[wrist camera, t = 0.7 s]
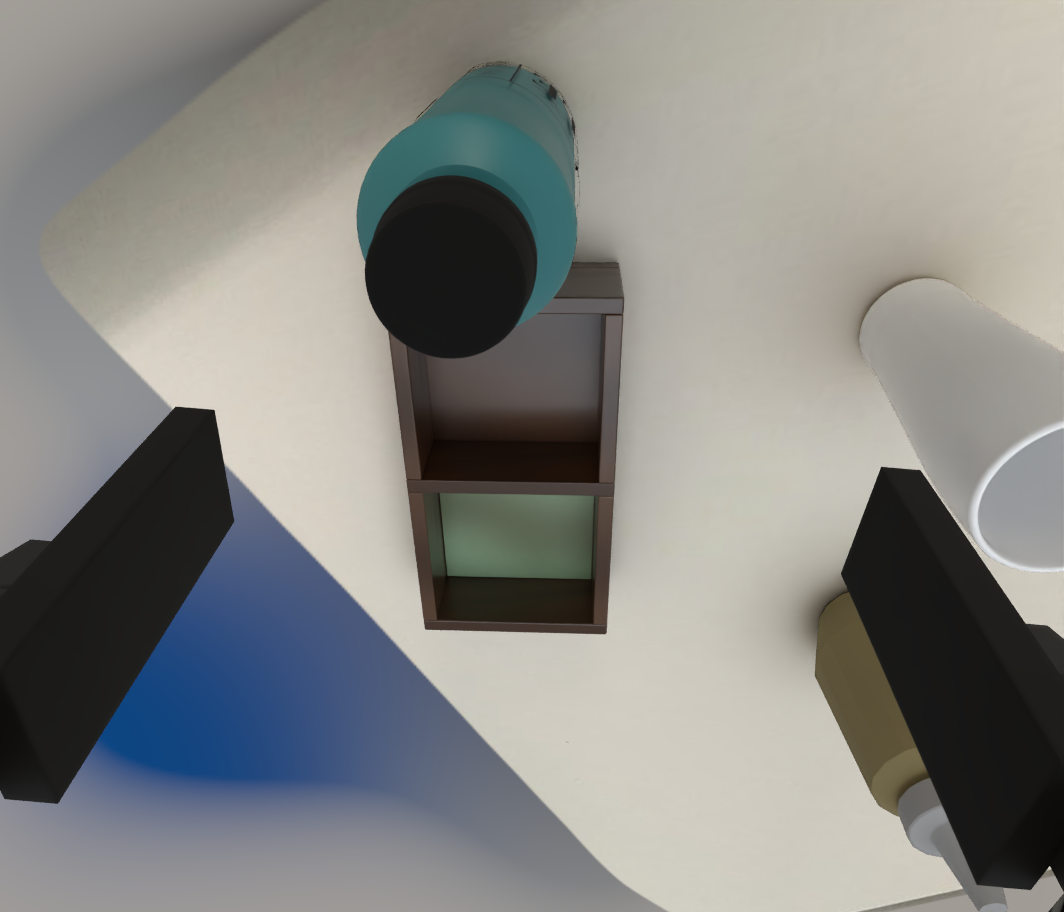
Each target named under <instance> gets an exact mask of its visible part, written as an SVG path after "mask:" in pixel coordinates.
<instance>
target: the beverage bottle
mask: <svg viewBox="0 0 1064 912" xmlns="http://www.w3.org/2000/svg"><path fill="white" fill-rule="evenodd" d="M497 62H498V63H499V62H500V61H496V63H497ZM487 63H489V62H487ZM494 63H495V62H494ZM500 63H504V62H500ZM505 63H506V62H505ZM511 63H512V62H511ZM483 64H484V63H483ZM487 65H488V64H487ZM487 65H486V67H484V68H483V67H482V68H480V69H479V68H478V69H477V70H476V69H475V71H473V72H471V70H472V69H473V68H475V66H474V67H473V68H472V69H471V70H470V71H469V72H470V73H469V72H468V73H469V74H467V75H464V76H463V77H462V78H461V79H460V80H458V81H457V82H456V83H455V84H454V85H453V86H452V87H451V88H449V89H448V90H447V91H446V92H445V93H444V94H443V95H442V96H441V97H440V98H439V99H438V100H437V101H436V102H435V103H434V105H433V106H432V107H431V108H430V109H429V110H428V111H427V110H426V109H427V108H428V107H429V106H430V105H431V104H432V103H433V102H434V101H433V102H432V103H431V104H430V105H429V106H428V107H427V108H426V109H425V110H426V111H427V112H425V114H424V115H423V116H422V117H420V118H419V119H418V120H417V121H416V122H415V123H414V124H412V125H411V126H409V127H407V128H406V129H404V130H403V131H401V132H400V133H399V134H398V135H396V136H395V137H394V138H392V139H391V140H390V141H389V142H388V143H387V144H386V146H385V147H384V148H383V149H382V150H381V151H380V152H379V154H378V155H377V156H376V158H375V159H374V160H373V162H372V164H371V166H370V168H369V169H368V171H367V173H366V175H365V178H364V181H363V184H362V186H361V190H360V194H359V199H358V206H357V231H358V238H359V243H360V247H361V250H362V254H363V257H364V259H365V262H366V264H365V281H366V287H367V292H368V296H369V299H370V302H371V305H372V307H373V309H374V311H375V313H376V315H377V317H378V318H379V320H380V321H381V322H382V324H383V325H384V326H385V328H386V329H387V330H388V331H389V332H390V333H391V334H392V335H393V336H394V337H395V338H397V339H398V340H399V341H400V342H402V343H403V344H405V345H406V346H408V347H410V348H412V349H414V350H416V351H418V352H421V353H423V354H426V355H429V356H433V357H438V358H446V359H457V358H466V357H470V356H474V355H477V354H480V353H483V352H485V351H487V350H489V349H490V348H492V347H494V346H495V345H497V344H498V343H500V342H501V341H502V340H503V339H505V338H506V337H507V336H508V335H509V334H510V333H511V331H512V330H513V329H514V328H515V327H516V326H518V325H520V324H522V323H524V322H525V321H527V320H529V319H530V318H532V317H533V316H534V315H536V314H537V313H538V312H539V311H541V310H542V309H543V308H544V307H545V306H546V305H547V304H548V303H549V302H550V301H551V300H552V299H553V297H554V296H555V295H556V293H557V292H558V291H559V289H560V288H561V286H562V284H563V283H564V281H565V279H566V277H567V275H568V272H569V270H570V268H571V265H572V261H573V257H574V254H575V248H576V241H577V217H576V209H577V208H575V172H574V156H575V155H574V139H576V138H574V137H573V132H574V135H575V128H576V127H575V125H574V121H573V120H574V119H572V125H571V121H570V118H569V115H568V113H567V110H566V108H565V106H564V104H563V103H565V102H564V101H566V100H563V102H562V100H561V99H560V98H559V96H558V95H557V93H558V92H560V91H558V90H557V89H556V88H555V87H554V86H553V87H554V88H555V89H556V90H557V91H558V92H557V91H556V90H555V89H554V88H553V87H552V85H548V84H547V83H546V82H545V81H546V80H545V79H544V80H545V81H544V80H543V79H541V78H542V77H543V76H542V77H541V78H540V76H539V75H537V74H538V73H537V72H536V73H537V74H536V73H534V74H533V73H531V72H529V71H527V70H524V69H521V68H520V67H521V66H522V65H521V64H520V66H518V67H513V66H507V65H504V64H503V65H502V64H501V65H500V64H498V65H496V66H493V65H494V64H492V66H491V65H490V66H488V67H487ZM509 65H510V64H509ZM476 66H477V65H476ZM515 66H516V65H515ZM523 66H524V65H523ZM478 67H479V66H478ZM526 67H527V66H526ZM541 75H542V74H541ZM538 76H539V77H538ZM543 78H544V77H543ZM545 78H546V77H545ZM552 84H553V83H552ZM561 95H562V94H561ZM563 99H564V98H563ZM565 104H567V103H565ZM566 106H567V105H566ZM567 108H569V107H567ZM425 110H424V111H425ZM568 110H569V109H568ZM424 111H423V112H424ZM570 111H571V110H570ZM423 112H422V113H423ZM422 113H421V114H422ZM421 114H420V115H421ZM570 114H571V113H570ZM420 115H419V116H420ZM571 115H572V114H571ZM419 116H418V117H419ZM418 117H417V118H418ZM417 118H416V119H417ZM572 129H573V130H572ZM577 144H578V140H577ZM576 147H577V146H576ZM576 149H577V148H576ZM577 152H578V151H577ZM576 158H577V157H576ZM577 161H578V160H577ZM575 163H576V162H575ZM576 164H577V163H576ZM576 164H575V165H576ZM575 169H576V170H577V171H578V167H577V166H576V168H575ZM577 174H578V173H577ZM578 175H579V174H578ZM578 177H579V176H578ZM579 183H580V182H579ZM579 187H580V186H579ZM579 192H580V190H579ZM579 204H580V203H579ZM577 206H578V205H577ZM578 213H579V212H578Z"/></svg>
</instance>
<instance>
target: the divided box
mask: <svg viewBox="0 0 1064 912" xmlns="http://www.w3.org/2000/svg"><path fill="white" fill-rule="evenodd" d="M623 311H624V294H623V287H622V280H621V273H620V267H619V264H618V263H572V265H571V268H570V270H569V272H568V275H567V277H566V279H565V281H564V283H563V284H562V286H561V288H560V289H559V291H558V292H557V293H556V295H555V296H554V297H553V299H552V300H551V301H550V302H549V303H548V304H547V305H546V306H545V307H544V308H543V309H542V310H541V311H539V312H538V313H537V314H536V315H534V316H533V317H532V318H530V319H529V320H527V321H525V322H524V323H522V324H520V325H518V326H516V327H515V328H514V329H513V330H512V331H511V333H510V334H509V335H508V336H507V337H506V338H505V339H503V340H502V341H501V342H500V343H498V344H497V345H495V346H494V347H492V348H490V349H489V350H487V351H485V352H483V353H480V354H477V355H474V356H470V357H466V358H457V359H446V358H438V357H433V356H429V355H426V354H423V353H421V352H418V351H416V350H414V349H412V348H410V347H408V346H406V345H405V344H403V343H402V342H400V341H399V340H398V339H397V338H395V337H394V336H393V335H392V334H391V333H390V332H389V331H388V332H389V340H390V349H391V357H392V365H393V373H394V381H395V389H396V397H397V406H398V414H399V422H400V430H401V438H402V446H403V454H404V463H405V471H406V478H407V488H408V496H409V504H410V512H411V520H412V529H413V537H414V545H415V553H416V561H417V569H418V577H419V585H420V594H421V602H422V610H423V618H424V625H425V629H426V630H462V631H500V632H538V633H577V634H606V633H607V615H608V596H609V577H610V558H611V539H612V520H613V501H614V482H615V463H616V444H617V425H618V406H619V387H620V368H621V349H622V330H623Z"/></svg>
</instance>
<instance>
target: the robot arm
mask: <svg viewBox="0 0 1064 912" xmlns="http://www.w3.org/2000/svg"><path fill="white" fill-rule="evenodd" d="M233 522H234V517H233V512H232V506H231V501H230V495H229V489H228V483H227V478H226V472H225V467H224V461H223V455H222V450H221V444H220V438H219V433H218V427H217V421H216V416H215V410H209V409H197V408H185V407H175V408H174V409H173V410H172V411H171V412H170V413H169V415H168V416H167V417H166V418H165V419H164V420H163V421H162V422H161V423H160V424H159V425H158V427H157V428H156V429H155V430H154V431H153V432H152V433H151V434H150V435H149V436H148V437H147V439H146V440H145V441H144V442H143V443H142V444H141V445H140V446H139V447H138V448H137V449H136V450H135V451H134V453H133V454H132V455H131V456H130V457H129V458H128V459H127V460H126V461H125V462H124V463H123V464H122V466H121V467H120V468H119V469H118V470H117V471H116V472H115V473H114V474H113V475H112V476H111V477H110V479H109V480H108V481H107V482H106V483H105V484H104V485H103V486H102V487H101V488H100V489H99V490H98V492H97V493H96V494H95V495H94V496H93V497H92V498H91V499H90V500H89V501H88V502H87V504H86V505H85V506H84V507H83V508H82V509H81V510H80V511H79V512H78V513H77V514H76V515H75V516H74V518H73V519H72V520H71V521H70V522H69V523H68V524H67V525H66V526H65V527H64V528H63V530H62V531H61V532H60V533H59V534H58V535H57V536H56V537H55V538H54V539H53V540H52V541H41V540H29V541H27V542H26V543H24V544H22V545H20V546H19V547H17V548H15V549H14V550H13V551H11V552H9V553H7V554H5V555H4V556H2V557H0V791H1V793H2V795H3V797H4V799H10V800H22V801H33V802H45V803H55V804H58V802H59V801H60V799H61V798H62V796H63V795H64V793H65V792H66V790H67V788H68V787H69V785H70V783H71V782H72V780H73V779H74V777H75V776H76V774H77V772H78V771H79V769H80V768H81V766H82V764H83V763H84V761H85V759H86V758H87V756H88V755H89V753H90V751H91V750H92V748H93V747H94V745H95V744H96V742H97V740H98V739H99V737H100V735H101V734H102V732H103V731H104V729H105V727H106V726H107V724H108V723H109V721H110V719H111V718H112V716H113V715H114V713H115V711H116V710H117V708H118V707H119V705H120V703H121V702H122V700H123V699H124V697H125V695H126V694H127V692H128V691H129V689H130V687H131V686H132V684H133V683H134V681H135V679H136V678H137V676H138V675H139V673H140V671H141V670H142V668H143V666H144V665H145V663H146V662H147V660H148V659H149V657H150V655H151V654H152V652H153V651H154V649H155V647H156V646H157V644H158V643H159V641H160V639H161V638H162V636H163V635H164V633H165V631H166V630H167V628H168V627H169V625H170V623H171V622H172V620H173V618H174V617H175V615H176V614H177V612H178V611H179V609H180V607H181V606H182V604H183V603H184V601H185V599H186V598H187V596H188V595H189V593H190V591H191V590H192V588H193V587H194V585H195V583H196V582H197V580H198V578H199V577H200V575H201V574H202V572H203V570H204V569H205V567H206V566H207V564H208V562H209V561H210V559H211V558H212V556H213V555H214V553H215V551H216V550H217V548H218V547H219V545H220V543H221V542H222V540H223V538H224V537H225V535H226V534H227V532H228V531H229V529H230V527H231V526H232V524H233ZM841 575H842V577H843V580H844V582H845V584H846V586H847V589H848V591H849V593H850V596H851V598H852V600H853V602H854V605H855V607H856V609H857V612H858V614H859V616H860V619H861V621H862V623H863V625H864V628H865V630H866V632H867V635H868V637H869V639H870V641H871V644H872V646H873V648H874V651H875V653H876V655H877V658H878V660H879V662H880V664H881V667H882V669H883V671H884V674H885V676H886V678H887V680H888V683H889V685H890V687H891V690H892V692H893V694H894V697H895V699H896V701H897V703H898V706H899V708H900V710H901V713H902V715H903V717H904V719H905V722H906V724H907V726H908V729H909V731H910V733H911V736H912V738H913V740H914V742H915V745H916V747H917V749H918V752H919V754H920V756H921V758H922V761H923V763H924V765H925V768H926V770H927V772H928V775H929V777H930V779H931V781H932V784H933V786H934V788H935V791H936V793H937V795H938V797H939V800H940V802H941V804H942V807H943V809H944V811H945V814H946V816H947V818H948V820H949V823H950V825H951V827H952V830H953V832H954V834H955V836H956V839H957V841H958V843H959V846H960V848H961V850H962V853H963V855H964V857H965V859H966V862H967V864H968V866H969V869H970V871H971V873H972V876H973V878H974V880H975V882H976V885H981V886H992V887H1003V888H1015V889H1026V890H1031V889H1032V888H1033V886H1034V885H1035V884H1036V883H1037V881H1038V880H1039V879H1040V878H1041V876H1042V875H1043V874H1044V872H1045V871H1046V870H1047V869H1048V867H1049V866H1050V867H1051V869H1052V871H1053V872H1054V874H1055V876H1056V878H1057V880H1058V882H1059V884H1060V886H1061V888H1062V889H1063V891H1064V639H1063V638H1062V637H1061V636H1059V635H1058V634H1057V633H1056V632H1055V631H1053V630H1052V629H1051V628H1050V627H1048V626H1046V625H1034V624H1025V622H1024V621H1023V619H1022V618H1021V616H1020V615H1019V613H1018V612H1017V611H1016V609H1015V608H1014V606H1013V605H1012V603H1011V602H1010V600H1009V599H1008V597H1007V596H1006V594H1005V593H1004V592H1003V590H1002V589H1001V587H1000V586H999V584H998V583H997V581H996V580H995V578H994V577H993V576H992V574H991V573H990V571H989V570H988V568H987V567H986V565H985V564H984V562H983V561H982V559H981V558H980V557H979V555H978V554H977V552H976V551H975V549H974V548H973V546H972V545H971V543H970V542H969V540H968V539H967V538H966V536H965V535H964V533H963V532H962V530H961V529H960V527H959V526H958V524H957V523H956V521H955V520H954V519H953V517H952V516H951V514H950V513H949V511H948V510H947V508H946V507H945V505H944V504H943V503H942V501H941V500H940V498H939V497H938V495H937V494H936V492H935V491H934V489H933V488H932V486H931V485H930V484H929V482H928V481H927V479H926V478H925V476H924V475H923V473H922V472H921V470H911V469H899V468H888V467H881V469H880V472H879V474H878V477H877V480H876V482H875V485H874V488H873V490H872V493H871V496H870V498H869V501H868V503H867V506H866V509H865V511H864V514H863V517H862V519H861V522H860V525H859V527H858V530H857V533H856V535H855V538H854V541H853V543H852V546H851V548H850V551H849V554H848V556H847V559H846V562H845V564H844V567H843V570H842V572H841ZM1049 912H1064V894H1063V895H1062V896H1061V897H1060V898H1059V900H1058V901H1057V902H1056V903H1055V905H1054V906H1053V907H1052V908H1051V909H1050V910H1049Z"/></svg>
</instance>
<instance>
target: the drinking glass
mask: <svg viewBox="0 0 1064 912" xmlns="http://www.w3.org/2000/svg"><path fill="white" fill-rule="evenodd" d="M859 343H860V349H861V353H862V355H863V358H864V360H865V361H866V363H867V364H868V366H869V367H870V369H871V370H872V371H873V373H874V374H875V375H876V377H877V379H878V381H879V383H880V385H881V387H882V388H883V390H884V392H885V394H886V396H887V398H888V400H889V402H890V404H891V406H892V408H893V410H894V411H895V413H896V415H897V417H898V419H899V421H900V423H901V425H902V427H903V429H904V431H905V433H906V435H907V437H908V439H909V441H910V443H911V445H912V447H913V449H914V451H915V453H916V455H917V457H918V459H919V461H920V463H921V465H922V466H923V468H924V470H925V472H926V474H927V476H928V477H929V479H930V481H931V482H932V484H933V486H934V487H935V489H936V490H937V492H938V493H939V495H940V496H941V498H942V499H943V501H944V502H945V504H946V505H947V507H948V508H949V509H950V511H951V512H952V514H953V515H954V516H955V518H956V519H957V520H958V521H959V523H960V524H961V525H962V527H963V528H964V529H965V530H966V531H967V533H968V534H969V535H970V536H971V538H972V539H973V540H974V541H975V542H976V544H977V545H978V547H979V548H980V549H981V550H982V551H983V552H984V553H985V554H987V555H988V556H989V557H990V558H992V559H993V560H995V561H997V562H999V563H1001V564H1003V565H1005V566H1008V567H1011V568H1014V569H1018V570H1023V571H1028V572H1060V571H1064V352H1063V351H1061V350H1060V349H1058V348H1056V347H1054V346H1053V345H1051V344H1049V343H1047V342H1046V341H1044V340H1042V339H1041V338H1039V337H1037V336H1035V335H1034V334H1032V333H1030V332H1028V331H1027V330H1025V329H1023V328H1021V327H1020V326H1018V325H1016V324H1015V323H1013V322H1011V321H1009V320H1008V319H1006V318H1004V317H1003V316H1001V315H999V314H998V313H996V312H994V311H992V310H991V309H989V308H987V307H986V306H984V305H982V304H981V303H979V302H978V301H976V300H974V299H973V298H972V297H970V296H969V295H968V294H967V293H965V292H964V291H963V290H962V289H960V288H959V287H957V286H956V285H954V284H952V283H950V282H947V281H944V280H940V279H934V278H922V279H915V280H911V281H907V282H904V283H902V284H899V285H897V286H895V287H893V288H892V289H890V290H889V291H887V292H886V293H884V294H883V295H882V296H881V297H880V298H879V299H877V301H876V302H875V303H874V304H873V305H872V306H871V308H870V309H869V310H868V312H867V314H866V316H865V318H864V320H863V322H862V325H861V329H860V336H859Z"/></svg>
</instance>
